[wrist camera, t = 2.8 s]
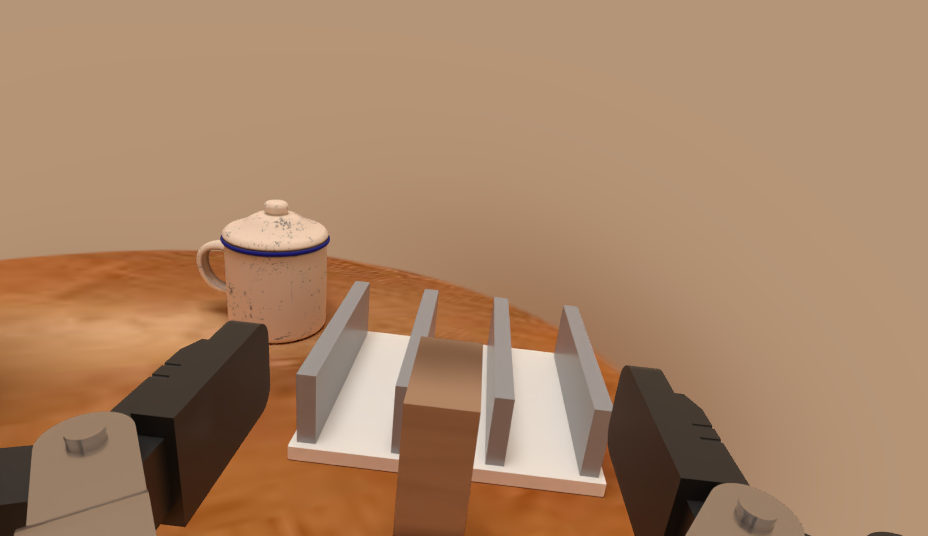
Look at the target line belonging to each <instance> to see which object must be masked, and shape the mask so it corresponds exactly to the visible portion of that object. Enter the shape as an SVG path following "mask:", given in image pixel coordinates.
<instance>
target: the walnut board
mask: <svg viewBox="0 0 928 536" xmlns="http://www.w3.org/2000/svg"><path fill="white" fill-rule="evenodd" d="M482 363H483V343H475V342H466V341H458V340H449V339H441V338H432V337H424V336H421V339H420V342H419V346H418V350H417V354H416V357H415V361H414V365H413V369H412V372H411V376H410V380H409V384H408V387H407V391H406V395H405V399H404V402H403V413H402V427H401V440H400V453H399V466H398V479H397V492H396V505H395V518H394V531H393V536H464V531H465V523H466V516H467V509H468V502H469V495H470V487H471V480H472V473H473V466H474V458H475V451H476V444H477V437H478V430H479V422H480V415H481V393H482Z"/></svg>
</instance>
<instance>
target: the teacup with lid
mask: <svg viewBox="0 0 928 536" xmlns="http://www.w3.org/2000/svg"><path fill="white" fill-rule="evenodd" d="M220 239H221V240H215V241H211V242H208V243H206V244H205V245H203V246H202V247H201V248H200V249H199V251H198V254H197V266H198V270H199V272H200V274H201V276H202V278H203V279H204V281H205V282H206V283H207V284H208V285H209V286H210V287H211V288H212V289H214V290H216V291H218V292H221V293H224V294H227V308H228V321H230V320H233V321H242V322H251V323H260V324H265V325H266V327H267V329H268V336H269V343H285V342H292V341H296V340H300V339H303V338H306V337H308V336H310V335H312V334H314V333H316V332H317V331H318V330H320V329H321V328H322V326H323V325H324V323H325V320H326V276H327V244H328V243H329V241H330V237H329V235H328V231H327V230H326V228H325V227H324V226H323V225H321V224H320V223H318V222H316V221H313V220H310V219H306V218H303V217H302V216H300V215H299V214H297V213H294V212H291V211H288V204H287V203H286V202H285V201H282V200H269V201H266V202H265V204H264V211H259V212H257V213H255V214H252V215H251V216H249V217H247V218H243V219H239V220H236V221H234V222H232V223H230V224H228V225H227V226H226V227H225V228H224V230H223V232H222V235H221V238H220ZM211 250H222V251H224V255H225V273H226V283H225V282H223V281H221V280H220V279H219V278H218V277H217V276H216V275H215V274H214V272H213V271H212V269H211V267H210V263H209V252H210V251H211Z"/></svg>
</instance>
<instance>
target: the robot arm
mask: <svg viewBox="0 0 928 536" xmlns="http://www.w3.org/2000/svg"><path fill="white" fill-rule="evenodd" d="M269 391H270V368H269V336H268V329H267V327H266V325H265V324H260V323H251V322H242V321H233V320H230V321H228V322H227V323H226V324H225V325H224V326H223V327H222V328H220V329H219V330H218V331H217V332H216V333H215V334H214V335H213V336H212V337H211V338H210V339H209V340H206V339H201V340H199V341H197V342H195V343H193V344H191V345H188V346H186V347H184V348H182V349H180V350H179V351H178V352H177V353H175V354H174V355H173V356H172V357H171V358H170V359H169V360H167V361H166V362H165V365H164V366H163V365H162V366H161V367H160V368H158V369H157V370H156V371H155V372H154V373H153V374H152V377H148V378H147V379H146V380H145V381H144V382H143V383H142V384H140V385H139V386H138V387H137V388H136V389H135V390H134V391H132V392H131V393H130V394H129V395H128V396H127V397H126V398H125V399H123V400H122V401H121V402H120V403H119V404H118V405H117V406H116V407H114V408H113V409H112V410H111V411H110V412H94V413H88V414H83V415H80V416H76V417H73V418H70V419H67V420H65V421H63V422H61V423H59V424H57V425H55V426H53V427H51V428H50V429H48V430H47V431H46V432H44V433H43V434H42V435H41V436H40V437H39V438H38V439H37V440H36V442H35V444H34V445H30V446H20V447H10V448H0V536H156V529H157V528H158V527H159V525H160V524H164V525H172V526H181V527H186V525H187V524H188V522H189V521H190V519H191V518H192V516H193V515H194V513H195V512H196V510H197V509H198V508H199V506H200V505H201V503H202V502H203V500H204V499H205V497H206V496H207V494H208V493H209V491H210V490H211V488H212V487H213V485H214V484H215V482H216V481H217V479H218V478H219V476H220V475H221V473H222V472H223V471H224V469H225V468H226V466H227V465H228V463H229V462H230V460H231V459H232V457H233V456H234V454H235V453H236V451H237V450H238V448H239V447H240V445H241V444H242V442H243V441H244V439H245V438H246V436H247V435H248V434H249V432H250V431H251V429H252V428H253V426H254V425H255V423H256V422H257V420H258V419H259V417H260V416H261V414H262V413H263V411H264V409H265V407H266V404H267V401H268V396H269ZM608 449H609V454H610V457H611V460H612V464H613V467H614V470H615V473H616V476H617V480H618V483H619V486H620V489H621V493H622V496H623V499H624V502H625V506H626V509H627V512H628V515H629V519H630V522H631V525H632V528H633V532H634V535H635V536H810V535H807V534H805V533H804V529H803V527H802V524H801V523H800V521H799V519H798V518H797V517H796V515H794V513H793V512H792V511H791V510H790V509H789V508H788V507H786V506H785V505H784V504H783V503H782V502H780V501H779V500H778V499H776V498H775V497H773V496H771V495H769V494H767V493H766V492H764V491H762V490H759V489H757V488H754V487H751V486H749V484H748V482H747V481H746V479H745V478H744V476H743V474H742V473H741V471H740V470H739V468H738V466H737V465H736V463H735V462H734V460H733V458H732V457H731V455H730V454H729V452H728V450H727V449H726V447H725V446H724V444H723V443H721V439H720V437H719V436H718V434H717V433H716V431H715V430H714V429H712V425H711V423H710V422H709V420H708V418H707V417H706V415H705V413H704V412H703V410H702V409H701V408H700V407H698V406H697V405H696V404H695V403H693V402H692V401H691V400H690V399H689V398H687V397H686V396H685V395H684V394H677V393H674V392H673V390H672V388H671V386H670V385H669V383H668V381H667V379H666V378H665V376H664V374H663V372H662V371H661V370H660V369H654V368H644V367H636V366H627V365H626V366H625V367H624V368H623V369H622V371H621V374H620V378H619V383H618V387H617V391H616V396H615V400H614V404H613V409H612V413H611V417H610V422H609V427H608ZM868 536H902V535H899V534H894V533H889V532H875V533H871V534H869V535H868Z"/></svg>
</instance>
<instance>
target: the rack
mask: <svg viewBox="0 0 928 536" xmlns="http://www.w3.org/2000/svg"><path fill="white" fill-rule="evenodd" d="M369 288H370V283H369V282H361V281H356V282H355V283H354V285H353V286H352V288H351V290H350V291H349V293H348V294H347V296H346V297H345V299H344V300H343V302H342V304H341V305H340V307H339V308H338V310H337V311H336V313H335V314H334V316H333V318H332V319H331V321H330V322H329V324H328V325H327V327H326V328H325V330H324V332H323V333H322V335H321V336H320V338H319V339H318V341H317V343H316V344H315V346H314V347H313V349H312V350H311V352H310V353H309V355H308V357H307V358H306V360H305V361H304V363H303V364H302V366H301V367H300V369H299V371H298V372H297V374H296V403H297V430H296V432H295V434H294V436H293V438H292V439H291V441H290V443H289V445H288V459H290V460H298V461H307V462H315V463H323V464H332V465H340V466H348V467H357V468H365V469H373V470H382V471H390V472H398V466H399V453H400V440H401V427H402V413H403V402H404V399H405V395H406V391H407V387H408V384H409V380H410V376H411V372H412V369H413V365H414V361H415V357H416V354H417V350H418V346H419V342H420V339H421V336H424V337H432V338H434V335H435V325H436V315H437V304H438V294H439V291H438V290H429V289H425V291H424V294H423V297H422V300H421V304H420V307H419V310H418V313H417V317H416V320H415V323H414V327H413V330H412V333H411V336H404V335H396V334H387V333H379V332H370V331H368V310H369ZM612 409H613V405H612V402H611V400H610V397H609V394H608V391H607V388H606V386H605V383H604V380H603V377H602V374H601V372H600V369H599V366H598V363H597V360H596V358H595V355H594V352H593V349H592V346H591V344H590V341H589V338H588V335H587V332H586V330H585V327H584V324H583V321H582V318H581V316H580V313H579V310H578V307H575V306H567V305H564V306H563V310H562V316H561V321H560V326H559V332H558V337H557V342H556V348H555V353H549V352H540V351H532V350H523V349H515V348H511V336H510V321H509V306H508V299H506V298H498V297H494V302H493V309H492V316H491V324H490V331H489V338H488V345H483V363H482V393H481V415H480V422H479V430H478V437H477V444H476V451H475V458H474V466H473V473H472V480H471V481H474V482H482V483H490V484H499V485H507V486H515V487H524V488H532V489H540V490H549V491H557V492H565V493H574V494H582V495H590V496H599V497H603V496H604V493H605V489H606V485H607V484H606V481H605V477H604V474H603V470H602V462H603V458H604V454H605V450H606V446H607V442H608V427H609V422H610V417H611V413H612Z"/></svg>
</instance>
